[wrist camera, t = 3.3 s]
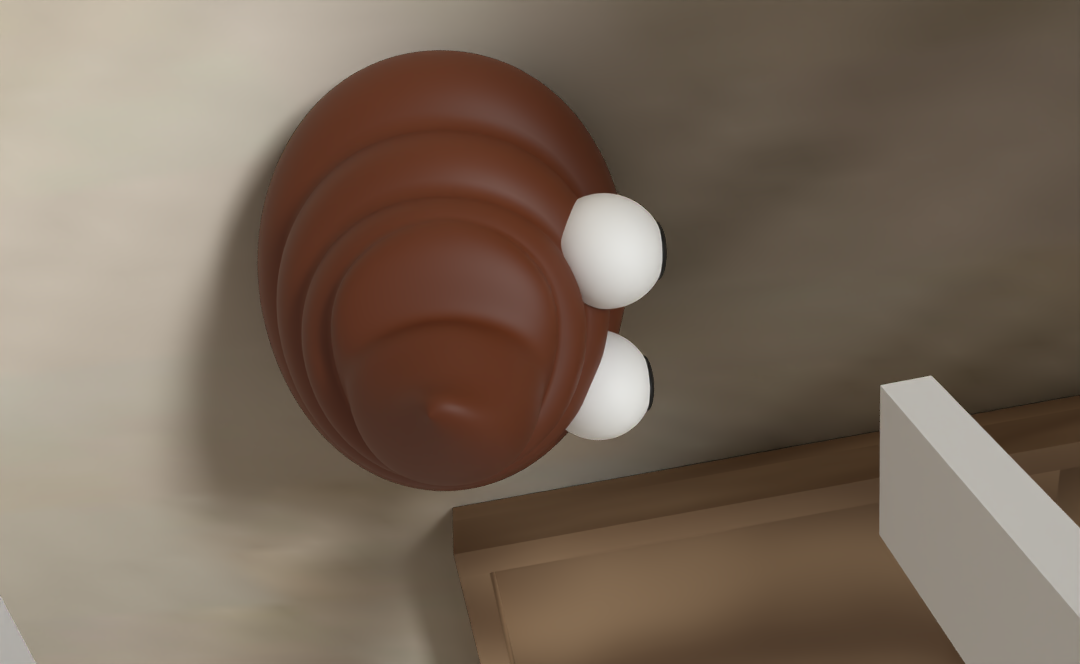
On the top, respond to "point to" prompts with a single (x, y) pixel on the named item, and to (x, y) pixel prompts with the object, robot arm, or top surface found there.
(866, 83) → the top surface
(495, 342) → the poop emoji
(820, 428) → the top surface
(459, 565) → the divided wooden tray
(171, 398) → the top surface
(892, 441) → the robot arm
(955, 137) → the top surface
